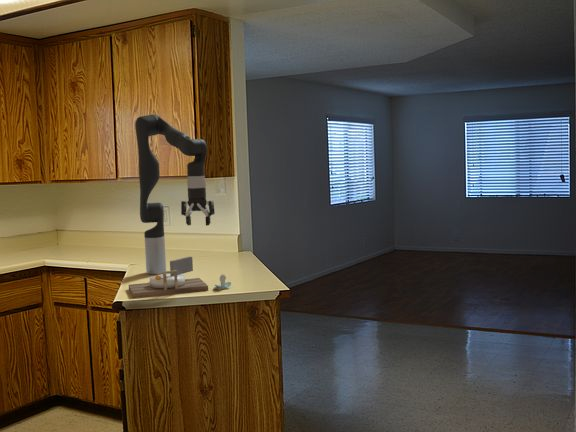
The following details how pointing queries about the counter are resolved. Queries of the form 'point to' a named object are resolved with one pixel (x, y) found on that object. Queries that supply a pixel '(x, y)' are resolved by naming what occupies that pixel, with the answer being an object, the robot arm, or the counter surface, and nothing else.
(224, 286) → the pacifier
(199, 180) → the robot arm
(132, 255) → the counter surface
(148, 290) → the stand
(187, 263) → the cam foot
